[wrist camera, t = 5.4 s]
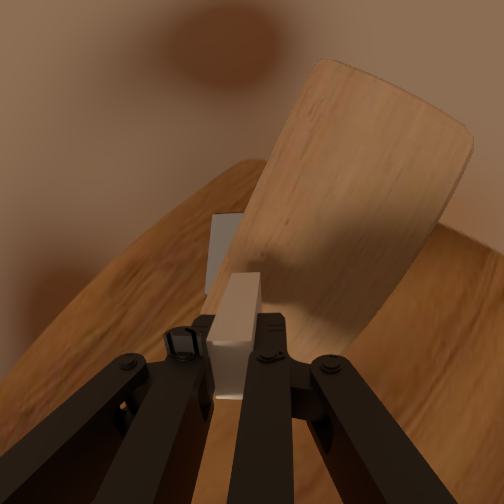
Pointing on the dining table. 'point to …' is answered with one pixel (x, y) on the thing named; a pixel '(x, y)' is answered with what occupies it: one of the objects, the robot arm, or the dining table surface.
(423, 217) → the wooden block
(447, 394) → the dining table surface
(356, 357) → the dining table surface
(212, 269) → the felt pad
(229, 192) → the dining table surface
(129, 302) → the dining table surface
